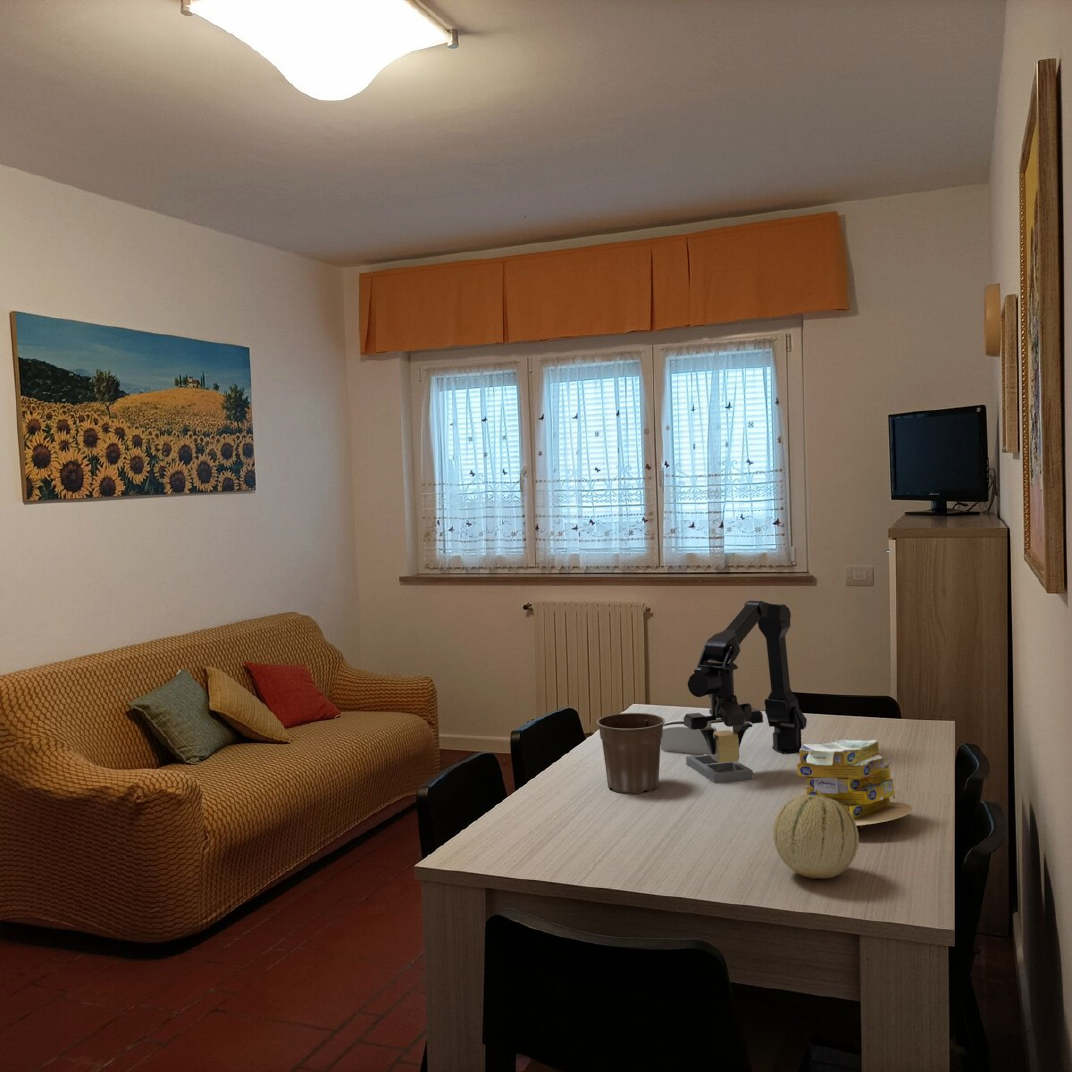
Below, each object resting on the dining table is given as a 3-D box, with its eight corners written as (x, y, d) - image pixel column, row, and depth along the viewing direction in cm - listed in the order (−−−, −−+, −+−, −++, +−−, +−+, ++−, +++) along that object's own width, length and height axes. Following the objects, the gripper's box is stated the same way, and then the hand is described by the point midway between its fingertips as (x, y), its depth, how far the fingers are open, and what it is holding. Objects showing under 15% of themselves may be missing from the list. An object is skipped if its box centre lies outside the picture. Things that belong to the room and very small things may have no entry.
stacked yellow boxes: (763, 817, 218) (761, 740, 217) (847, 796, 230) (844, 722, 230) (852, 850, 197) (849, 764, 196) (938, 824, 209) (936, 743, 208)
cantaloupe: (778, 890, 178) (775, 805, 178) (772, 860, 193) (769, 781, 192) (866, 892, 176) (863, 806, 175) (853, 861, 190) (851, 782, 190)
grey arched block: (725, 751, 274) (719, 719, 271) (719, 761, 270) (714, 728, 267) (667, 746, 282) (661, 714, 279) (661, 755, 278) (654, 724, 275)
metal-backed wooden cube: (731, 755, 254) (730, 729, 254) (740, 760, 249) (739, 734, 249) (709, 758, 253) (708, 732, 252) (718, 763, 248) (717, 736, 248)
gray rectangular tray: (722, 760, 265) (722, 752, 265) (752, 778, 247) (752, 770, 247) (686, 764, 263) (686, 756, 263) (714, 782, 245) (713, 774, 245)
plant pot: (664, 797, 235) (661, 728, 235) (594, 796, 238) (592, 727, 238) (669, 777, 251) (667, 712, 250) (604, 777, 254) (601, 712, 254)
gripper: (698, 699, 240) (701, 765, 241) (772, 692, 245) (774, 757, 245) (681, 691, 251) (684, 754, 252) (752, 684, 255) (754, 746, 256)
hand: (724, 753), depth 251 cm, fingers closed on metal-backed wooden cube, 6 cm apart
